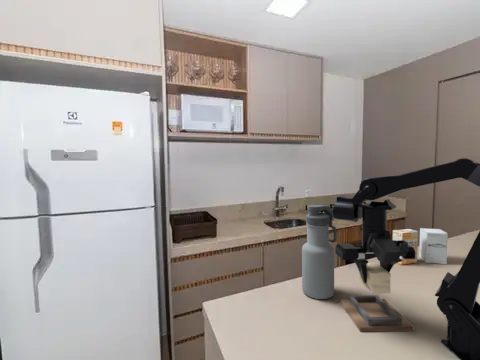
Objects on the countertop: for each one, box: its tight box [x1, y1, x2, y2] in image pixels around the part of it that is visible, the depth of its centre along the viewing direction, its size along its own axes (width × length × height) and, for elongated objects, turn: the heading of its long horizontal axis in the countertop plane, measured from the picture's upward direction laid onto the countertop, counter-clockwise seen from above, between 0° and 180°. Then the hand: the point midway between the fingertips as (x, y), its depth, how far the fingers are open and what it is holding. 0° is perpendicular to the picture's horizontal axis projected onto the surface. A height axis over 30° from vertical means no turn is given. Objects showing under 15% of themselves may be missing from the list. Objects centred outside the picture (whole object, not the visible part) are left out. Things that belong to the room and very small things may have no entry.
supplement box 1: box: [392, 228, 419, 266], centre depth 105 cm, size 8×5×13 cm, turn 105°
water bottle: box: [301, 204, 338, 300], centre depth 82 cm, size 10×10×28 cm
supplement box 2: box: [418, 227, 449, 265], centre depth 106 cm, size 7×7×13 cm
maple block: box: [358, 261, 391, 294], centre depth 69 cm, size 8×4×5 cm, turn 0°
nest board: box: [339, 294, 414, 332], centre depth 70 cm, size 13×13×2 cm
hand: (373, 282), depth 69 cm, fingers closed on maple block, 4 cm apart
